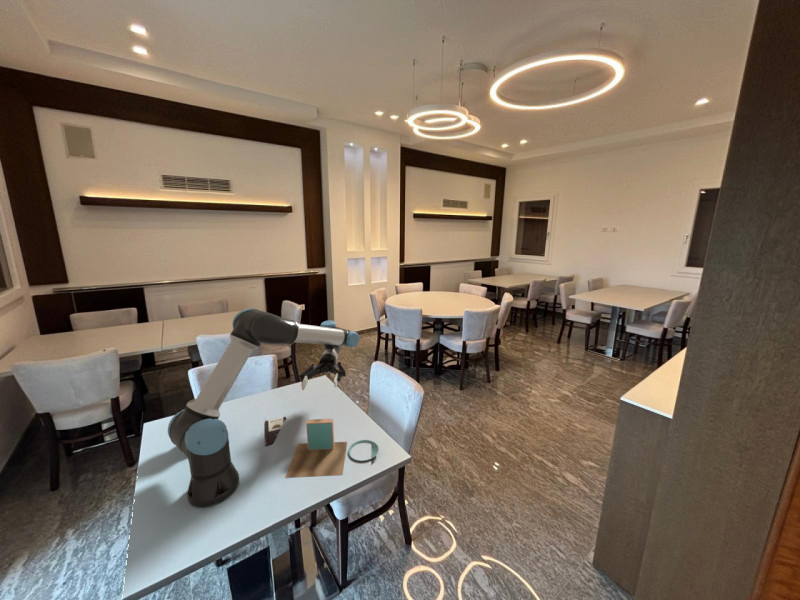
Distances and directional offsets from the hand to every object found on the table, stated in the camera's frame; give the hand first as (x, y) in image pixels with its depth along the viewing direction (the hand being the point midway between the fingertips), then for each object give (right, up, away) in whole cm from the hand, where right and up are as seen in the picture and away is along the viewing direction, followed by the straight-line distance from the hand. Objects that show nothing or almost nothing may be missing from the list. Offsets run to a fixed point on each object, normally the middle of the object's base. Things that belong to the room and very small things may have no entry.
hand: (318, 386), depth 130 cm
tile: (+2, -23, -5) cm, 24 cm away
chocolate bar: (-21, -22, +8) cm, 31 cm away
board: (+3, -26, -10) cm, 28 cm away
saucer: (+19, -26, -6) cm, 33 cm away
